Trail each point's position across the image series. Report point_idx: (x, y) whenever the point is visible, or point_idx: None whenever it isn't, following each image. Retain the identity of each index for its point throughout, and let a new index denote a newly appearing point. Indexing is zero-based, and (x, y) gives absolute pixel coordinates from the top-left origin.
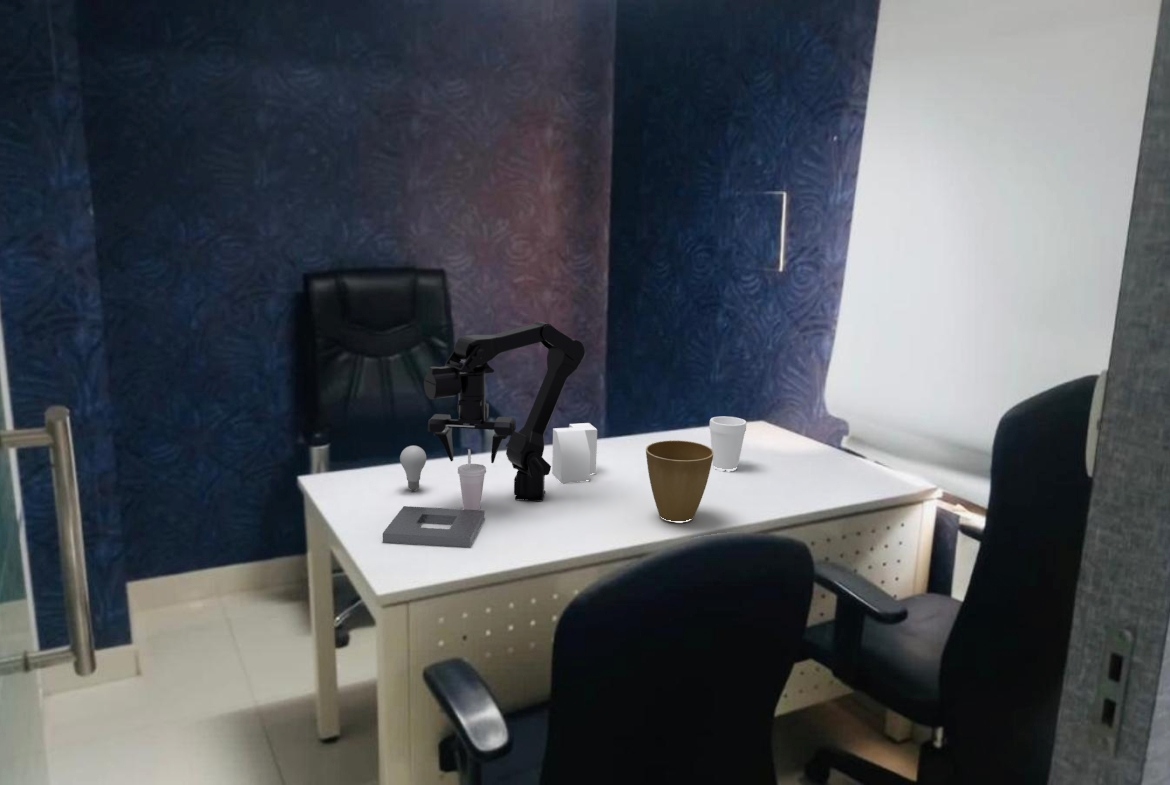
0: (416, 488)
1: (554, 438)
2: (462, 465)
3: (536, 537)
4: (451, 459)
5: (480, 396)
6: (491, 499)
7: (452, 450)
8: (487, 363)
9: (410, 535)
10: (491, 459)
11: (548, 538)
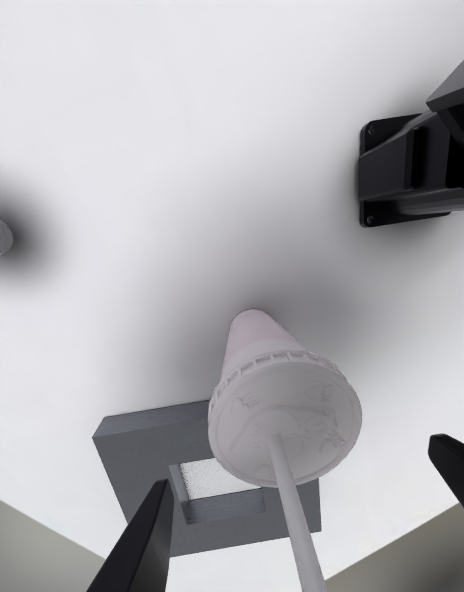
0: (11, 245)
1: None
2: (220, 411)
3: None
4: (169, 522)
5: None
6: (285, 239)
7: (143, 588)
8: None
9: (201, 550)
10: (457, 495)
11: (456, 433)
